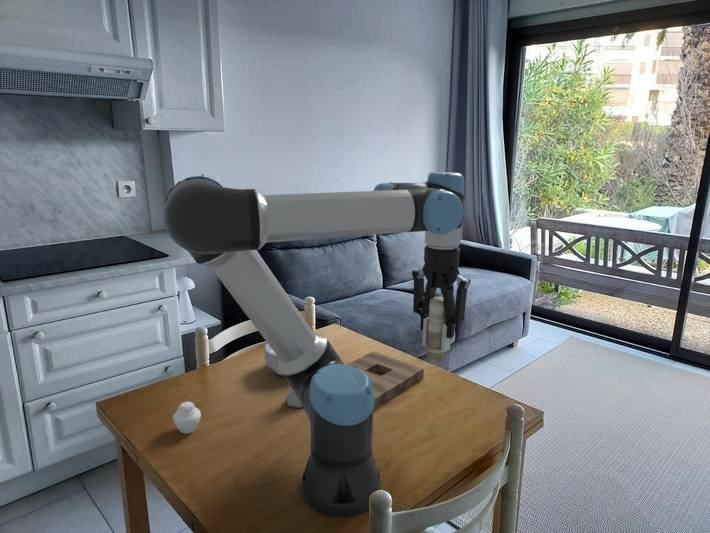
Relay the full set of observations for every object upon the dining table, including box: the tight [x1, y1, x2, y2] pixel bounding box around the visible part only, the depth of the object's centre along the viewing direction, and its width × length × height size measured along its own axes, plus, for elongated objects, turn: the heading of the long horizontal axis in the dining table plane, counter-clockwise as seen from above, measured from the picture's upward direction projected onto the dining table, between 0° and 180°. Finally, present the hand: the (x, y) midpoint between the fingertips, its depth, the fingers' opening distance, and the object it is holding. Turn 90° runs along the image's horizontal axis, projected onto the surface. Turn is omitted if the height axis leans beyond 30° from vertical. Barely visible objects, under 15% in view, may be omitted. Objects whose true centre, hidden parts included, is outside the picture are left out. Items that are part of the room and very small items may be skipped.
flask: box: [285, 387, 303, 409], centre depth 127 cm, size 7×7×10 cm
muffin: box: [172, 401, 202, 434], centre depth 114 cm, size 6×6×7 cm
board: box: [346, 351, 425, 411], centre depth 138 cm, size 24×18×3 cm
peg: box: [426, 296, 446, 363], centre depth 111 cm, size 4×4×14 cm
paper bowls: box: [263, 342, 283, 377], centre depth 144 cm, size 15×15×8 cm
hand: (436, 347), depth 112 cm, fingers closed on peg, 4 cm apart
